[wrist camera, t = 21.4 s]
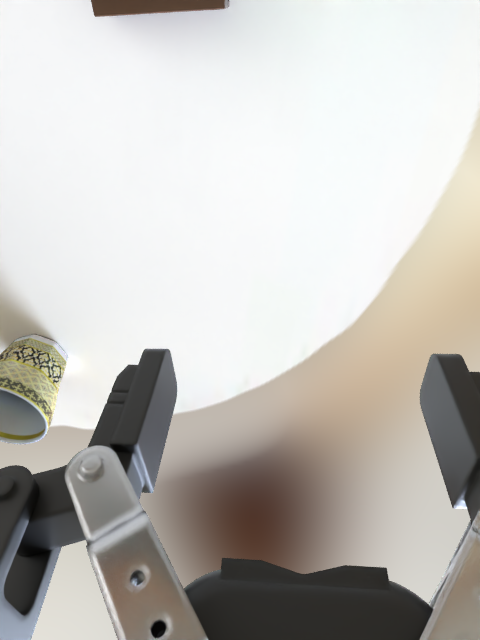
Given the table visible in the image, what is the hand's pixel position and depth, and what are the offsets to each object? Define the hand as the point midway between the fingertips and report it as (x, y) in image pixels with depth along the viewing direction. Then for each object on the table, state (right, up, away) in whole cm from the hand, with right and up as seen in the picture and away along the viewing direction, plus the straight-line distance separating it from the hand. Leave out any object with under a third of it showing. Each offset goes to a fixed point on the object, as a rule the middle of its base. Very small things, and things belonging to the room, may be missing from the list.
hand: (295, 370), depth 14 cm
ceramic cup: (-28, -2, +41) cm, 50 cm away
